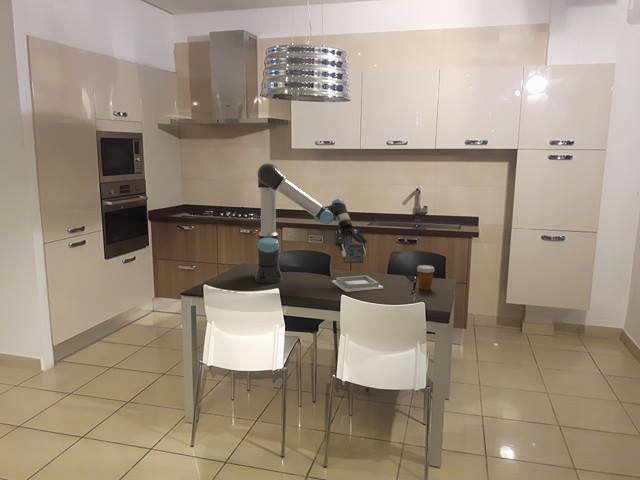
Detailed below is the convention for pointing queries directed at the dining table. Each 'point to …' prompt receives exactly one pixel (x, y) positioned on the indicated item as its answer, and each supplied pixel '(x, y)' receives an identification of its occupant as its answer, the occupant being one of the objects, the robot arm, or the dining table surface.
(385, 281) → the dining table surface
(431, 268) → the pill bottle
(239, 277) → the dining table surface
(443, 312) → the dining table surface
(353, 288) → the tray
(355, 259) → the small box
